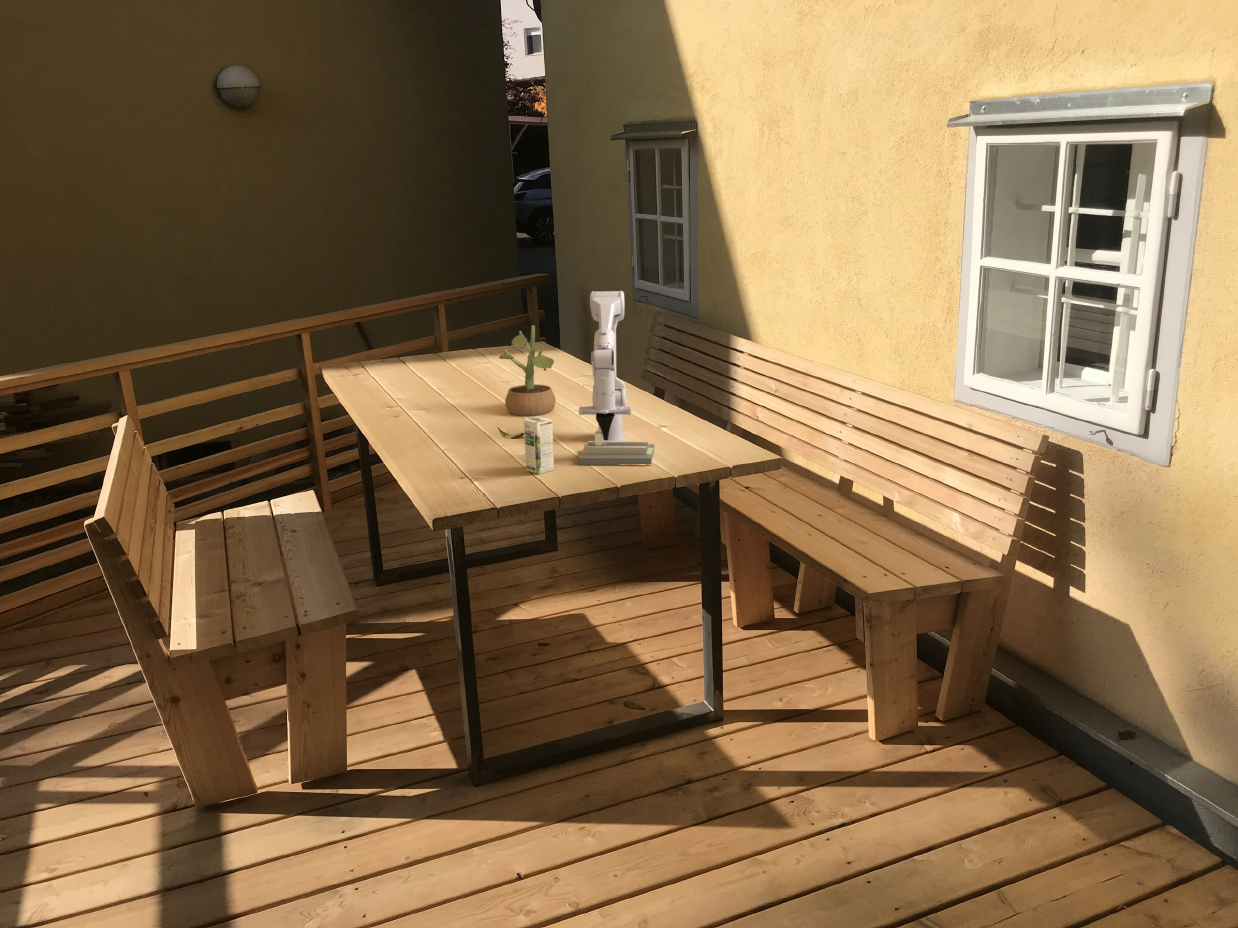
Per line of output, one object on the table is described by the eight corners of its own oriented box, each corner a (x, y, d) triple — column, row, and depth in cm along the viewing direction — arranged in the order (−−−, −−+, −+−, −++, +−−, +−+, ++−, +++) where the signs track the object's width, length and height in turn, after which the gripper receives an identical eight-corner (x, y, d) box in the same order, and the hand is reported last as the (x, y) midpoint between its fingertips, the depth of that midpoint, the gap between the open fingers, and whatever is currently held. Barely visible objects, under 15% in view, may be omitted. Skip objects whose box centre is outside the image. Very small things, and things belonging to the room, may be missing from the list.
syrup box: (525, 470, 269) (522, 419, 264) (541, 465, 273) (539, 415, 268) (538, 475, 265) (535, 422, 261) (555, 469, 269) (552, 418, 264)
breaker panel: (585, 450, 286) (585, 437, 285) (654, 450, 284) (654, 437, 282) (579, 465, 272) (578, 451, 271) (651, 465, 270) (650, 451, 269)
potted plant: (496, 408, 337) (491, 321, 328) (547, 403, 343) (542, 317, 334) (515, 424, 317) (510, 331, 308) (568, 417, 323) (564, 326, 314)
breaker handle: (593, 448, 280) (592, 430, 278) (607, 448, 279) (606, 430, 278) (591, 452, 277) (590, 433, 275) (605, 452, 276) (605, 433, 275)
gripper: (576, 395, 270) (578, 443, 274) (629, 395, 268) (630, 443, 272) (580, 389, 276) (581, 436, 280) (631, 389, 275) (632, 436, 279)
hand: (606, 439), depth 277 cm, fingers closed
